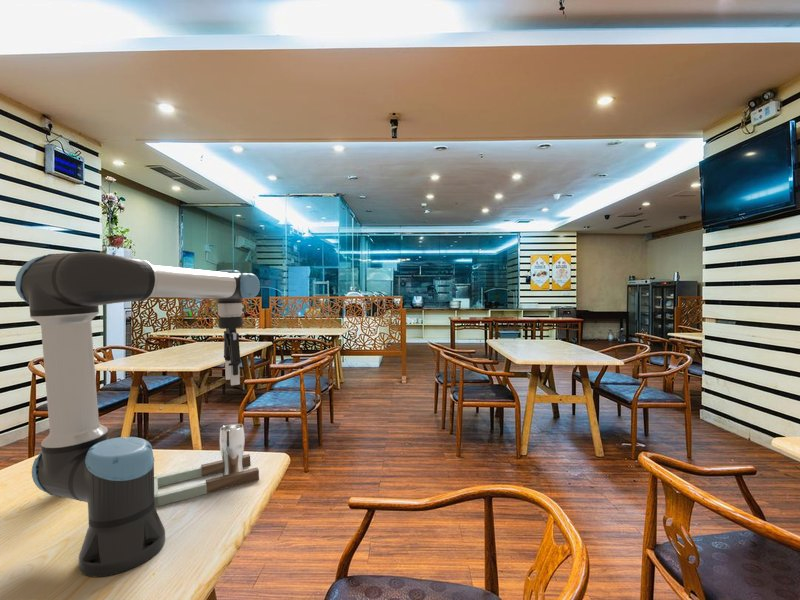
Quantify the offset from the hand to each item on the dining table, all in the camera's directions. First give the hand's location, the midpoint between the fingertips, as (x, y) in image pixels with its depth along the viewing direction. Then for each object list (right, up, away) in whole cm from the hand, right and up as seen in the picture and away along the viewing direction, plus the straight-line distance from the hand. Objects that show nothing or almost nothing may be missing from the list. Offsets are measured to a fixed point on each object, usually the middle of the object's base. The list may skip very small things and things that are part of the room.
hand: (232, 381), depth 134 cm
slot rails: (+5, -26, -14) cm, 30 cm away
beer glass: (+6, -26, -14) cm, 30 cm away
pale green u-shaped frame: (-6, -26, -22) cm, 34 cm away
